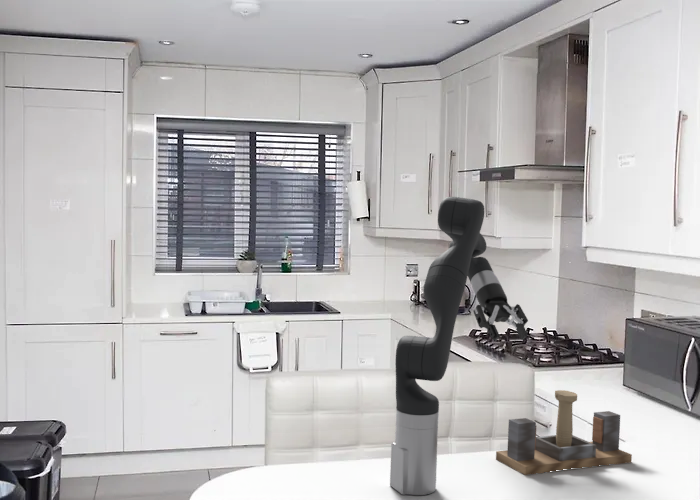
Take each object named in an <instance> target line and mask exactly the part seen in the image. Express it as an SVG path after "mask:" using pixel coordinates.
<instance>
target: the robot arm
mask: <svg viewBox="0 0 700 500" xmlns="http://www.w3.org/2000/svg"><path fill="white" fill-rule="evenodd" d="M484 219H485V206H484V204H483V202H481V201H480V200H477V199H473V198H472V199H471V198H465V197H458V196H446V197H444V198H443V199H442V200H441V201H440V204H439V208H438V213H437V225H438V227H439V229H440V230H441V231H442V232H443V233H444V234H446V235H447V236H448V237H450V239H451V242H450V244H449V247H448V249H447V250H445V251H444V252H442V253H440V254H439V255H438V256H437V257H436V258H435V259H434V260H433V261H432V263H431V264H430V265H429V267H428V271H427V274H426V278H425V281H424V284H423V296H424V299H425V301H426V305H427V307H428V309H429V310H430V313H431V315H432V317H433V320H434V323H435V328H436V329H435V334H434V336H433V337H428V336H427V337H426V336H419V335H417V336H416V335H404V336H402V337H400V339H399V340H398V342H397V345H396V349H395V350H396V351H395V362H394V363H395V402H396V405H395V406H396V409H395V411H396V412H395V431H394V432H395V433H394V434H395V436H394V437H395V438H394V442H391V446H390V473H389V474H390V475H389V476H390V477H389V486H390V487H392V489H394V490H395V491H397V492H398V493H400V494H401V495H412V496H424V495H430V494H432V493H434V492H435V491H436V490H437V489H436V488H437V465H438V464H437V463H438V461H437V460H438V439H439V436H438V435H439V411H440V402H439V398H437V396H436V395H434V394H433V393H431V392H430V391H429V392H428V391H426V390H425V389H424V388H422V387H421V386H420V384H418V382H417V380H419V381H420V380H421V381H430V382H438V381H440V380H441V381H442V379H443V377H444V376H445V374H446V372H447V367H448V364H449V358H450V354H451V347H452V342H453V336H454V330H455V325H456V320H457V316H458V313H459V309H460V307H461V306H460V305H461V303H462V299H463V296H464V292H465V288H466V284H467V280H469V282H470V284H471V288H472V290H473V291H472V292H473V294H474V295H475V297H476V299H477V301H478V304H476V307H475V308H474V310H473V315H474V317H475V320H476V321H477V325H478V327H479V328H480V329H483V328H484V329H486V330H487V331H488V333H489V336H490V338H491V339H492V340H493V341H498V339H500V333H499V330H498V329H497V327H496V325H495V324H494V323H500V322H502V323H506V324H508V325H509V326H510V325H511V326H513V327H514V328H515V330H516V333H517V334H518V337H519V338H520V340H521V341H523V340H525V339H526V338H527V336H528V332H527V330H526V327H525V326H526V324H527V323H528V322H529V319H528V318H527V316H526V313H524V311H523V309H522V307H521V306H520V304H519V303H517V304H516V305H513V306H511V305H510V304H509V303H508V298H507V295H506V292H505V291H504V290H505V289H504V288H503V286H502V285H501V283H500V281H499V279H498V277H497V276H496V274H495V272H494V270H493V268H492V266H491V264H490V262H489V261H488V259H487V258H486V257H483V256H481V255H482V254H484V253H485V251H486V250H487V242H486V239H485V237H484V236H483V234H482V233H481V230H482V227H483V224H484V223H483V222H484ZM486 316H487V318H486ZM510 316H511V319H510Z"/></svg>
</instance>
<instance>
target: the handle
mask: <svg viewBox="0 0 700 500" xmlns="http://www.w3.org/2000/svg"><path fill="white" fill-rule="evenodd" d="M554 399H556V400H557V401H558V409H557V419H556V427H555V428H556V429H555V435H556V443H557V446H559V447H568V446H571V443H572V435H573V431H574V430H573V428H574V427H573V425H574V424H573V405H574V404H573V403H574V402H577V401H578V394H577V393H575V391H574V392H573V391H570V390H563V389H562V390H561V389H558V390H554Z"/></svg>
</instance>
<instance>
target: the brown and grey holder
mask: <svg viewBox="0 0 700 500" xmlns="http://www.w3.org/2000/svg"><path fill="white" fill-rule="evenodd" d="M536 423H537V422H536V421H534V420H531V419H529V418H526V417H523V418H521V417H520V418H511V419H508V429H507V430H508V431H507V433H508V434H507V450H498V451H497V450H496V452H495V460H496V461H499V462H500V463H502V464H503V465H505V466H507V467H509V468H511V469H513V470H515V471H517V472H518V473H520V474H522V475H524V476H529V475H537V474H536V473H538V474H545V473H544V472H547V473H551V472H550V471H555V472H557V471H556V470H563V469H571V468H581V469H583V468H582V467H589V468H593V467H592V466H597V467H600V466H599V465H606V466H610V465H609V464H614V465H621V464H627V463H628V464H630V463H632V459H633V457H632V456H633V455H632V454H631V453H630V452H626V451H625V450H622V449H620V448H619V447H620V432H621V431H620V429H621V428H620V427H621V414H619V413H616V412H614V411H609V410H608V411H594V412H593V418H592V433H591V435H592V437H591V438H592V439H591V441H588V440H585V439H584V438H583V439H582V438H580V437H578V436H575V435H573V434H572V443H571V446H568V447H559V446H557V443H556V434H554V435H544V436H542V435H541V436H537V424H536Z"/></svg>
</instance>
